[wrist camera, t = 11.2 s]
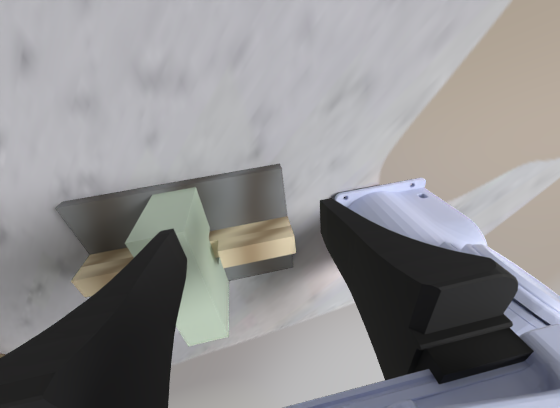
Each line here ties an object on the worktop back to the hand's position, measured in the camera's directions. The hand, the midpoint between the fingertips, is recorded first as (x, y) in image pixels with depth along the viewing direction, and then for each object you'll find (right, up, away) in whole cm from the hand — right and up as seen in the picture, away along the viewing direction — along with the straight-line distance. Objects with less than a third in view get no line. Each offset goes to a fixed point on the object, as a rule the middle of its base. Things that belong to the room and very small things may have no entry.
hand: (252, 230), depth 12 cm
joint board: (-7, -2, +12) cm, 14 cm away
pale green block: (-7, -3, +11) cm, 13 cm away
